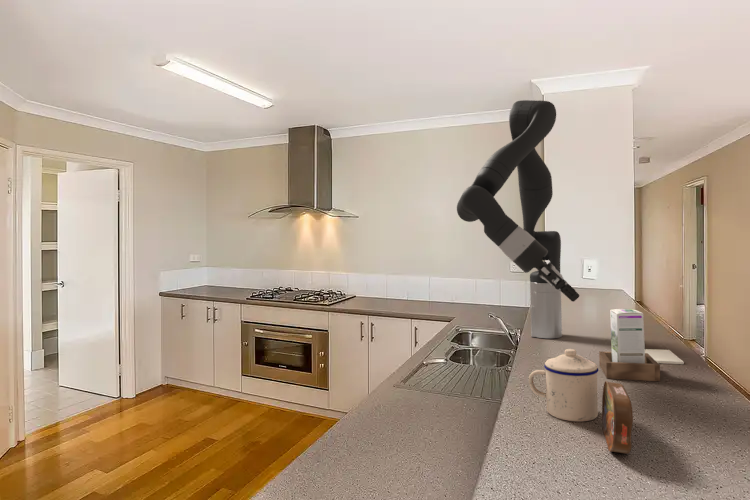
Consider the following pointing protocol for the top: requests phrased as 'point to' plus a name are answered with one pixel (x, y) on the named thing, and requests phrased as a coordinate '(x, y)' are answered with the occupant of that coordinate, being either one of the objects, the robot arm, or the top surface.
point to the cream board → (664, 356)
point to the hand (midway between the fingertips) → (574, 296)
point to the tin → (617, 417)
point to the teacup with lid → (569, 387)
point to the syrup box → (627, 336)
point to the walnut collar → (629, 368)
